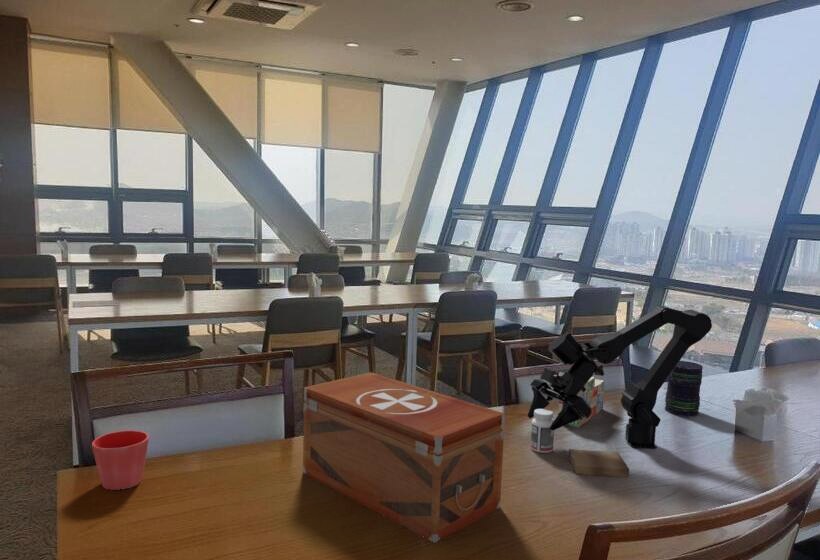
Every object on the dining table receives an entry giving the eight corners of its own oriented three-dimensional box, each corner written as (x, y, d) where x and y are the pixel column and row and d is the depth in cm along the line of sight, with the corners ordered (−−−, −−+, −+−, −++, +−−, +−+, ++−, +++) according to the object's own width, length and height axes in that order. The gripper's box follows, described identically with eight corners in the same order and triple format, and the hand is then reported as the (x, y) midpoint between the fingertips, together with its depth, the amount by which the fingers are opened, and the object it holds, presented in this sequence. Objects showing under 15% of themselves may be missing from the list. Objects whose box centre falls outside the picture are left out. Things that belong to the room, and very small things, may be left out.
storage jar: (668, 404, 199) (672, 359, 197) (701, 410, 193) (706, 364, 191) (660, 412, 191) (664, 364, 189) (695, 419, 185) (699, 370, 183)
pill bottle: (555, 447, 159) (557, 410, 158) (550, 455, 154) (552, 416, 153) (533, 443, 162) (535, 406, 160) (527, 450, 156) (529, 413, 155)
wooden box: (368, 449, 154) (370, 371, 152) (502, 508, 126) (507, 413, 124) (301, 473, 140) (302, 387, 137) (436, 545, 112) (440, 438, 109)
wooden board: (617, 459, 152) (618, 452, 152) (628, 477, 143) (629, 468, 142) (568, 456, 153) (568, 449, 153) (575, 473, 143) (576, 465, 143)
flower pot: (94, 476, 135) (93, 433, 133) (149, 469, 139) (148, 427, 138) (91, 497, 125) (89, 451, 124) (149, 489, 129) (149, 444, 128)
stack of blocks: (583, 405, 195) (586, 367, 194) (603, 409, 192) (605, 371, 190) (556, 423, 178) (559, 381, 177) (577, 428, 174) (580, 385, 173)
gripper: (538, 349, 165) (501, 393, 162) (585, 366, 149) (545, 415, 145) (559, 375, 170) (524, 418, 166) (608, 394, 153) (570, 443, 149)
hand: (539, 423), depth 157 cm, fingers open, 9 cm apart
